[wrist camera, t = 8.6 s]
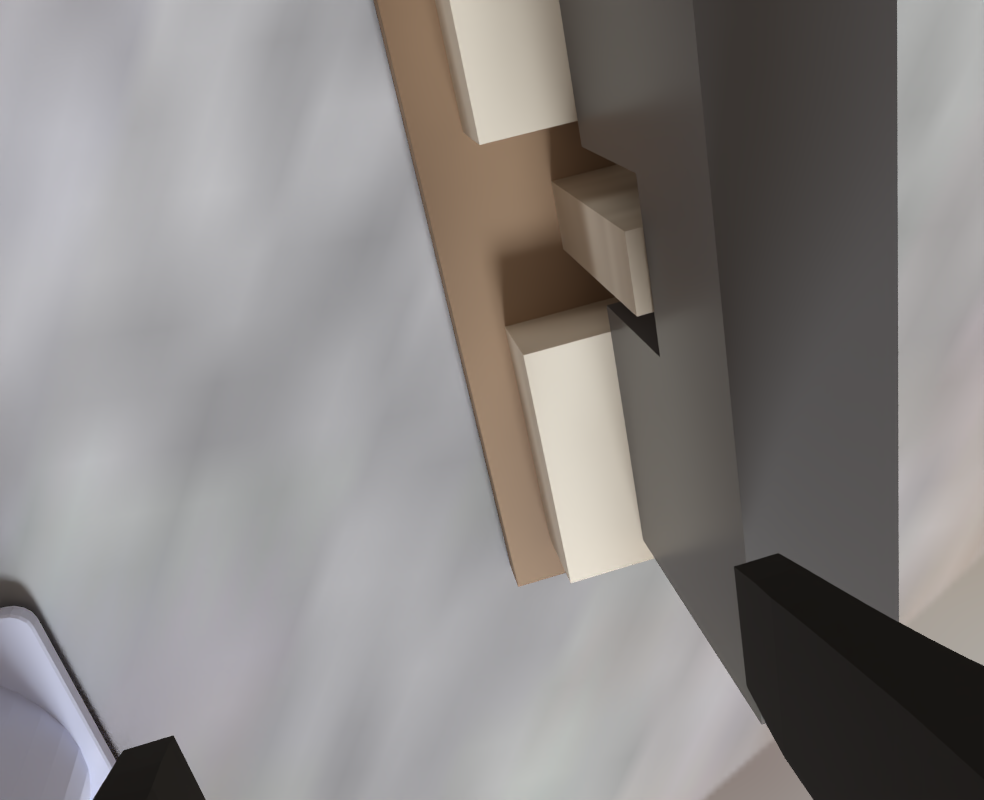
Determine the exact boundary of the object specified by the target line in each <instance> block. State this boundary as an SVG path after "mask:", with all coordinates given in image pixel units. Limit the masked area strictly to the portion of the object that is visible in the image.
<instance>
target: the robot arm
mask: <svg viewBox="0 0 984 800" xmlns="http://www.w3.org/2000/svg"><path fill="white" fill-rule="evenodd" d="M734 573H735V583H736V592H737V601H738V611H739V620H740V630H741V639H742V648H743V658H744V667H745V677H746V686H747V688H748V690H749V692H750V694H751V695H752V697H753V699H754V701H755V703H756V705H757V707H758V709H759V711H760V713H761V715H762V717H763V719H764V720H765V722H766V724H767V726H768V728H769V730H770V732H771V733H772V735H773V737H774V739H775V741H776V743H777V744H778V746H779V748H780V750H781V752H782V753H783V755H784V757H785V759H786V760H787V762H788V763H789V764H790V766H791V767H792V769H793V770H794V772H795V773H796V775H797V776H798V778H799V779H800V781H801V782H802V783H803V785H804V786H805V788H806V789H807V791H808V792H809V794H810V795H811V797H812V798H813V800H984V666H983V665H981V664H979V663H977V662H974V661H972V660H970V659H968V658H966V657H964V656H962V655H960V654H958V653H956V652H954V651H952V650H950V649H948V648H946V647H945V646H943V645H941V644H939V643H937V642H935V641H933V640H931V639H929V638H927V637H925V636H923V635H922V634H920V633H918V632H916V631H914V630H912V629H911V628H909V627H907V626H905V625H903V624H901V623H899V622H898V621H896V620H894V619H892V618H890V617H888V616H887V615H885V614H883V613H881V612H880V611H878V610H876V609H874V608H872V607H871V606H869V605H867V604H865V603H864V602H862V601H860V600H859V599H857V598H855V597H853V596H852V595H850V594H848V593H846V592H845V591H843V590H841V589H840V588H838V587H836V586H834V585H833V584H831V583H829V582H828V581H826V580H824V579H822V578H821V577H819V576H817V575H816V574H814V573H812V572H810V571H809V570H807V569H805V568H804V567H802V566H800V565H799V564H797V563H795V562H793V561H792V560H790V559H788V558H786V557H785V556H783V555H781V554H779V553H777V554H773V555H770V556H767V557H764V558H760V559H757V560H754V561H750V562H747V563H744V564H740V565H737V566H734ZM0 800H205V798H204V796H203V794H202V792H201V790H200V788H199V786H198V784H197V782H196V780H195V778H194V776H193V774H192V772H191V770H190V768H189V766H188V764H187V762H186V760H185V758H184V756H183V754H182V752H181V750H180V748H179V746H178V744H177V742H176V740H175V738H174V736H170V737H167V738H163V739H160V740H157V741H153V742H150V743H147V744H143V745H140V746H137V747H133V748H130V749H127V750H124V751H123V752H122V753H121V755H120V756H119V758H118V760H117V761H116V760H115V758H114V756H113V755H112V753H111V751H110V749H109V747H108V745H107V744H106V742H105V740H104V738H103V736H102V734H101V733H100V731H99V729H98V727H97V725H96V724H95V722H94V720H93V718H92V716H91V714H90V713H89V711H88V709H87V707H86V705H85V704H84V702H83V700H82V698H81V696H80V694H79V693H78V691H77V689H76V687H75V685H74V683H73V682H72V680H71V678H70V676H69V674H68V673H67V671H66V669H65V667H64V665H63V663H62V662H61V660H60V658H59V656H58V654H57V653H56V651H55V649H54V647H53V645H52V643H51V642H50V640H49V638H48V636H47V634H46V632H45V631H44V629H43V627H42V625H41V623H40V622H39V620H38V618H37V617H36V616H35V615H34V613H33V612H32V611H30V610H28V609H26V608H24V607H19V606H8V607H3V608H0Z"/></svg>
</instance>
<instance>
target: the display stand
mask: <svg viewBox="0 0 984 800" xmlns="http://www.w3.org/2000/svg"><path fill="white" fill-rule="evenodd" d="M374 4H375V8H376V12H377V16H378V20H379V25H380V29H381V33H382V37H383V41H384V45H385V49H386V53H387V58H388V62H389V66H390V70H391V74H392V78H393V82H394V86H395V91H396V95H397V99H398V103H399V107H400V111H401V115H402V119H403V123H404V128H405V132H406V136H407V140H408V144H409V148H410V152H411V156H412V161H413V165H414V169H415V173H416V177H417V181H418V185H419V189H420V194H421V198H422V202H423V206H424V210H425V214H426V218H427V222H428V227H429V231H430V235H431V239H432V243H433V247H434V251H435V255H436V260H437V264H438V268H439V272H440V276H441V280H442V284H443V288H444V293H445V297H446V301H447V305H448V309H449V313H450V317H451V321H452V325H453V330H454V334H455V338H456V342H457V346H458V350H459V354H460V358H461V363H462V367H463V371H464V375H465V379H466V383H467V387H468V391H469V396H470V400H471V404H472V408H473V412H474V416H475V420H476V424H477V429H478V433H479V437H480V441H481V445H482V449H483V453H484V457H485V462H486V466H487V470H488V474H489V478H490V482H491V486H492V490H493V495H494V499H495V503H496V507H497V511H498V515H499V519H500V523H501V528H502V532H503V536H504V540H505V544H506V548H507V552H508V556H509V560H510V565H511V568H512V571H513V574H514V576H515V579H516V582H517V584H518V587H519V586H523V585H526V584H529V583H533V582H536V581H539V580H543V579H546V578H550V577H553V576H556V575H560V574H563V573H566V574H567V576H568V578H569V580H570V582H571V583H573V582H577V581H580V580H583V579H587V578H590V577H593V576H597V575H600V574H603V573H607V572H610V571H613V570H617V569H620V568H624V567H627V566H630V565H634V564H637V563H640V562H644V561H647V560H650V559H654V556H653V555H652V553H651V552H650V550H649V549H648V547H647V545H646V544H645V542H644V541H643V536H642V529H641V523H640V517H639V510H638V504H637V497H636V491H635V484H634V478H633V472H632V465H631V459H630V452H629V446H628V440H627V433H626V427H625V420H624V414H623V408H622V401H621V395H620V388H619V382H618V376H617V369H616V363H615V356H614V350H613V344H612V337H611V331H610V324H609V318H608V312H607V305H610V304H613V303H617V302H622V303H623V304H624V305H625V306H626V307H627V308H628V309H629V310H630V311H631V312H632V313H634V314H635V315H636V316H641V315H645V314H648V313H652V312H654V307H653V299H652V291H651V284H650V276H649V269H648V261H647V253H646V246H645V238H644V231H643V223H642V215H641V208H640V200H639V193H638V185H637V177H636V173H634V172H632V171H630V170H628V169H626V168H624V167H622V166H620V165H618V164H616V163H614V162H612V161H610V160H608V159H606V158H604V157H602V156H600V155H598V154H595V153H593V152H591V151H589V150H587V149H585V148H583V147H582V145H581V139H580V132H579V126H578V119H577V113H576V107H575V100H574V94H573V87H572V81H571V75H570V68H569V62H568V55H567V49H566V43H565V36H564V30H563V23H562V17H561V11H560V4H559V0H374Z"/></svg>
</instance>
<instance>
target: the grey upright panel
mask: <svg viewBox="0 0 984 800" xmlns="http://www.w3.org/2000/svg"><path fill="white" fill-rule="evenodd" d="M559 4H560V11H561V17H562V23H563V30H564V36H565V43H566V49H567V55H568V62H569V68H570V75H571V81H572V87H573V94H574V100H575V107H576V113H577V119H578V126H579V132H580V139H581V145H582V147H583V148H585V149H587V150H589V151H591V152H593V153H595V154H598V155H600V156H602V157H604V158H606V159H608V160H610V161H612V162H614V163H616V164H618V165H620V166H622V167H624V168H626V169H628V170H630V171H632V172H634V173H636V177H637V185H638V193H639V200H640V208H641V215H642V223H643V231H644V238H645V246H646V253H647V261H648V269H649V276H650V284H651V291H652V299H653V307H654V312H652V313H648V314H645V315H641V316H636V315H635V314H634V313H632V312H631V311H630V310H629V309H628V308H627V307H626V306H625V305H624V304H623V303H622V302H617V303H613V304H610V305H607V312H608V318H609V324H610V331H611V337H612V344H613V350H614V356H615V363H616V369H617V376H618V382H619V388H620V395H621V401H622V408H623V414H624V420H625V427H626V433H627V440H628V446H629V452H630V459H631V465H632V472H633V478H634V484H635V491H636V497H637V504H638V510H639V517H640V523H641V529H642V536H643V541H644V542H645V544H646V545H647V547H648V549H649V550H650V552H651V553H652V555H653V556H654V558H655V559H656V561H657V563H658V564H659V566H660V567H661V569H662V570H663V572H664V573H665V575H666V577H667V578H668V580H669V581H670V583H671V584H672V586H673V587H674V589H675V591H676V592H677V594H678V595H679V597H680V598H681V600H682V601H683V603H684V605H685V606H686V608H687V609H688V611H689V612H690V614H691V615H692V617H693V619H694V620H695V622H696V623H697V625H698V626H699V628H700V629H701V631H702V633H703V634H704V636H705V637H706V639H707V640H708V642H709V643H710V645H711V646H712V648H713V650H714V651H715V653H716V654H717V656H718V657H719V659H720V660H721V662H722V664H723V665H724V667H725V668H726V670H727V671H728V673H729V674H730V676H731V678H732V679H733V681H734V682H735V684H736V685H737V687H738V688H739V690H740V692H741V693H742V695H743V696H744V698H745V699H746V701H747V702H748V704H749V706H750V707H751V709H752V710H753V712H754V713H755V715H756V716H757V718H758V720H759V721H760V723H761V724H765V723H766V722H765V720H764V719H763V717H762V715H761V713H760V711H759V709H758V707H757V705H756V703H755V701H754V699H753V697H752V695H751V694H750V692H749V690H748V688H747V686H746V677H745V667H744V658H743V648H742V639H741V630H740V620H739V611H738V601H737V592H736V583H735V573H734V566H737V565H740V564H744V563H747V562H750V561H754V560H757V559H760V558H764V557H767V556H770V555H773V554H777V553H779V554H781V555H783V556H785V557H786V558H788V559H790V560H792V561H793V562H795V563H797V564H799V565H800V566H802V567H804V568H805V569H807V570H809V571H810V572H812V573H814V574H816V575H817V576H819V577H821V578H822V579H824V580H826V581H828V582H829V583H831V584H833V585H834V586H836V587H838V588H840V589H841V590H843V591H845V592H846V593H848V594H850V595H852V596H853V597H855V598H857V599H859V600H860V601H862V602H864V603H865V604H867V605H869V606H871V607H872V608H874V609H876V610H878V611H880V612H881V613H883V614H885V615H887V616H888V617H890V618H892V619H894V620H896V621H898V622H899V552H898V212H897V0H559Z"/></svg>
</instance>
